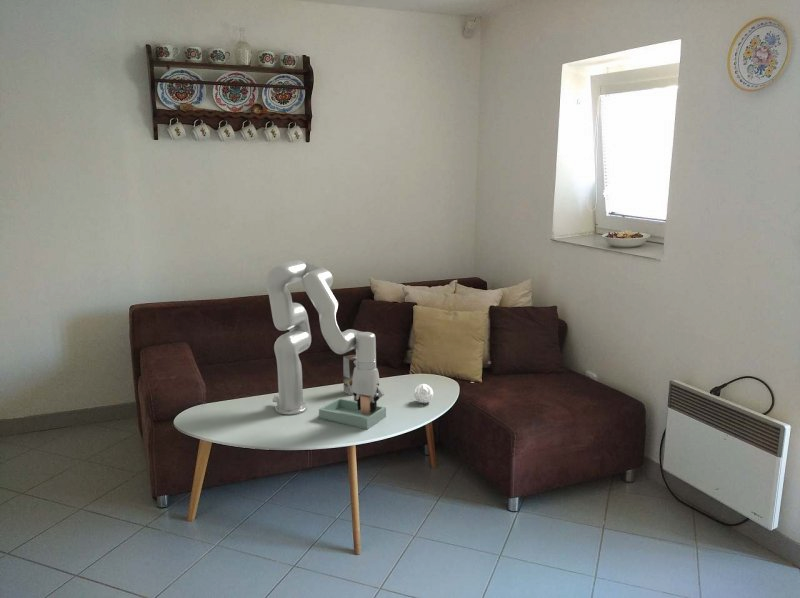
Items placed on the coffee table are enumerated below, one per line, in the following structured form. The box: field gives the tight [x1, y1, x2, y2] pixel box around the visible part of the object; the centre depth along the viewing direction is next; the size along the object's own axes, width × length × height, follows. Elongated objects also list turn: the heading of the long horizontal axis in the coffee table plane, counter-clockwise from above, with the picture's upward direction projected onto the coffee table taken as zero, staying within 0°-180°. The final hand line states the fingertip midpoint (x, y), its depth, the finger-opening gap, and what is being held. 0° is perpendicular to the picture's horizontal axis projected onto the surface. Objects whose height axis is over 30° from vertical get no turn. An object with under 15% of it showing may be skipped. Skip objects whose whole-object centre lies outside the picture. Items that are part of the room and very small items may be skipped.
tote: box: [318, 397, 387, 431], centre depth 245 cm, size 22×14×4 cm, turn 62°
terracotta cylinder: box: [360, 395, 374, 415], centre depth 241 cm, size 5×5×7 cm
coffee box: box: [342, 353, 356, 396], centre depth 273 cm, size 9×6×16 cm
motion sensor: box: [413, 383, 434, 404], centre depth 261 cm, size 8×8×8 cm
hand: (367, 409), depth 241 cm, fingers closed on terracotta cylinder, 5 cm apart
